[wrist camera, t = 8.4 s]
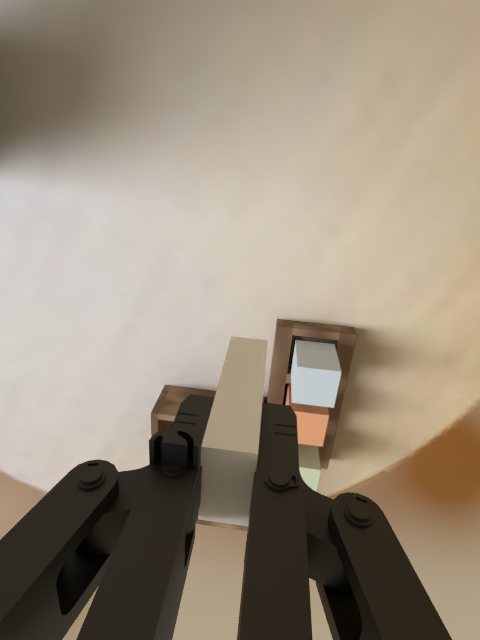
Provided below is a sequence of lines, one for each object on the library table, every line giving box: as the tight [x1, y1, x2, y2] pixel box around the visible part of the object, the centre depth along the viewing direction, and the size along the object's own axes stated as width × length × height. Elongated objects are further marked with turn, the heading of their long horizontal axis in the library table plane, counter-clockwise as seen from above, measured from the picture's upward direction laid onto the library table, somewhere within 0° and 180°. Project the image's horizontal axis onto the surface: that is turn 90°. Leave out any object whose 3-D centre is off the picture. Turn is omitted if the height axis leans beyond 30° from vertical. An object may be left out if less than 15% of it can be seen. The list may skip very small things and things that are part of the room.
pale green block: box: [298, 444, 321, 491], centre depth 48 cm, size 4×4×6 cm
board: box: [267, 319, 357, 469], centre depth 49 cm, size 9×20×2 cm, turn 175°
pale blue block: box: [291, 340, 342, 408], centre depth 43 cm, size 4×4×6 cm
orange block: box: [285, 383, 329, 447], centre depth 47 cm, size 4×4×6 cm
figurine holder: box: [151, 385, 264, 531], centre depth 52 cm, size 13×18×6 cm
